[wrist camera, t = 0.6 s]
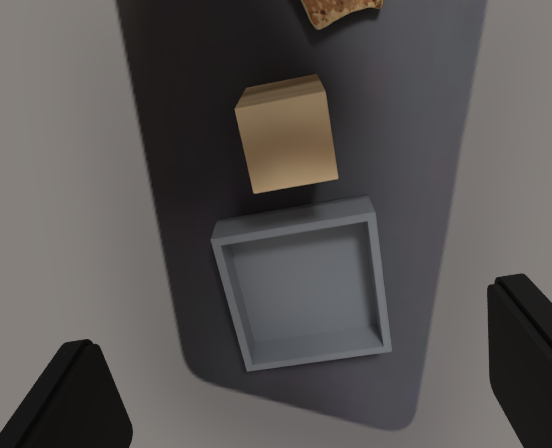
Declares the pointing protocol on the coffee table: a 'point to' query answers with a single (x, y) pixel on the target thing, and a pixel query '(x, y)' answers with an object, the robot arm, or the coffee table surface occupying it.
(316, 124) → the oak block
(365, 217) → the tray
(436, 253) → the coffee table surface
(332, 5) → the shard
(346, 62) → the coffee table surface
